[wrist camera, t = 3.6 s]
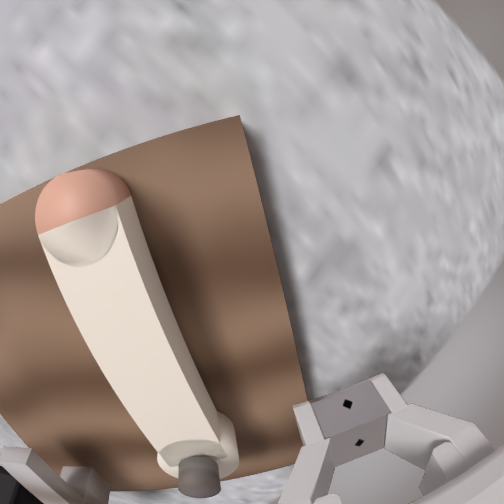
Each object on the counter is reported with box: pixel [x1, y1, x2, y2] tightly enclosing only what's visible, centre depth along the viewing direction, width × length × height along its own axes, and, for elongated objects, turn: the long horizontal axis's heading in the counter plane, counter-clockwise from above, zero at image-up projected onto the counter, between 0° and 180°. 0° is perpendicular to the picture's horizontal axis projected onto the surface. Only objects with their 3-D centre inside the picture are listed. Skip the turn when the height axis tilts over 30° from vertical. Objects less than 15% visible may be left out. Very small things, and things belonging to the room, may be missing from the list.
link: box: [35, 168, 239, 479], centre depth 14 cm, size 18×5×2 cm, turn 14°
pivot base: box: [0, 115, 307, 504], centre depth 14 cm, size 23×22×6 cm
